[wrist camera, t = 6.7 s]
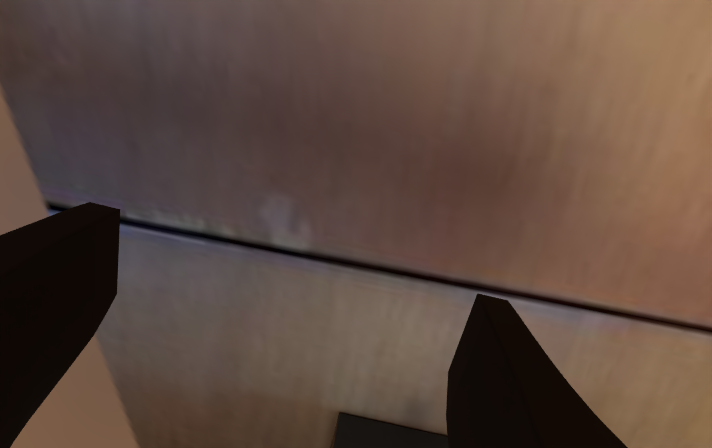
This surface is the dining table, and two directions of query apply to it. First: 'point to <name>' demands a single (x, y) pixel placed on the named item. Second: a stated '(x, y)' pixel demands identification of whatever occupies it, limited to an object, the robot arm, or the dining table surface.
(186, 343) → the dining table surface
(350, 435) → the dark blue square slab
